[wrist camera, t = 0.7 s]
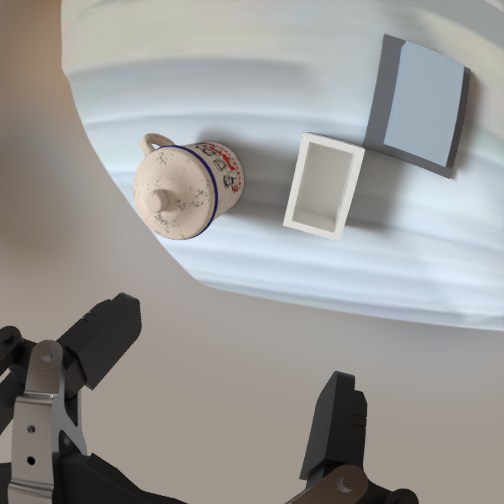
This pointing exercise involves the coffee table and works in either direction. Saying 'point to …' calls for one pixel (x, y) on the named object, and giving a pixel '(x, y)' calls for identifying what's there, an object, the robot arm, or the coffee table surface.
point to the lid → (425, 103)
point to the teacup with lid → (185, 185)
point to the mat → (384, 105)
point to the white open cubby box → (323, 185)
